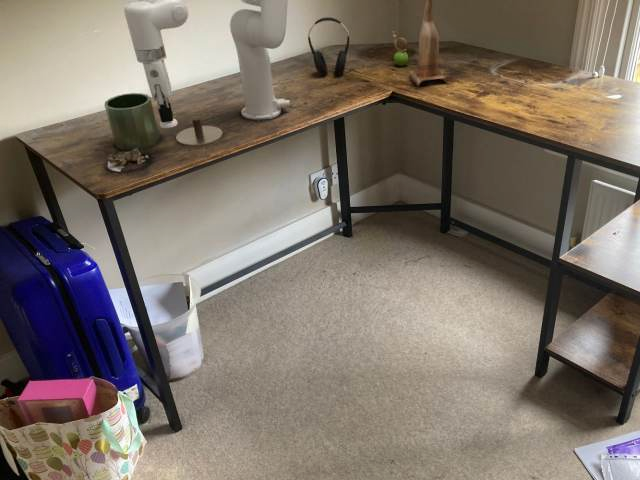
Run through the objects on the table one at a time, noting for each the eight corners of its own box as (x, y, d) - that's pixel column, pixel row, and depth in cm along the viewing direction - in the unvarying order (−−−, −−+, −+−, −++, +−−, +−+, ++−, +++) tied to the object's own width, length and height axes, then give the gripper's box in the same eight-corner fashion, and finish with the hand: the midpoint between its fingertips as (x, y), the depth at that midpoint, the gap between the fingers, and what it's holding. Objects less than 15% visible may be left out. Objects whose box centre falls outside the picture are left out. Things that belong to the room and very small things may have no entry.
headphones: (351, 77, 235) (348, 20, 223) (310, 78, 235) (305, 21, 223) (351, 70, 242) (348, 13, 230) (311, 71, 242) (307, 14, 230)
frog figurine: (121, 176, 175) (117, 163, 173) (98, 163, 182) (94, 151, 179) (157, 162, 182) (154, 149, 180) (135, 150, 188) (131, 138, 186)
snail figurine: (397, 61, 248) (397, 29, 241) (411, 64, 245) (411, 32, 238) (389, 65, 245) (388, 33, 238) (402, 68, 242) (402, 35, 235)
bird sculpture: (436, 73, 237) (439, -22, 218) (449, 83, 228) (453, -14, 209) (407, 77, 235) (408, -19, 215) (419, 87, 226) (420, -11, 206)
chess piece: (172, 128, 180) (164, 93, 174) (156, 127, 181) (147, 92, 175) (180, 121, 184) (172, 86, 178) (164, 120, 185) (155, 86, 178)
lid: (221, 126, 201) (218, 107, 198) (224, 144, 191) (221, 124, 187) (176, 132, 199) (172, 113, 195) (177, 150, 188) (172, 130, 184)
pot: (160, 130, 199) (150, 91, 192) (159, 147, 190) (149, 106, 182) (117, 135, 197) (106, 95, 189) (114, 153, 187) (102, 111, 180)
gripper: (165, 61, 165) (181, 128, 176) (165, 42, 177) (180, 106, 188) (134, 64, 163) (153, 132, 175) (136, 45, 175) (154, 110, 187)
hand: (167, 118), depth 181 cm, fingers closed on chess piece
